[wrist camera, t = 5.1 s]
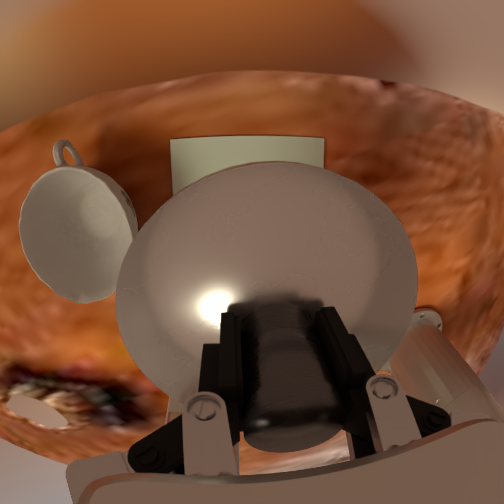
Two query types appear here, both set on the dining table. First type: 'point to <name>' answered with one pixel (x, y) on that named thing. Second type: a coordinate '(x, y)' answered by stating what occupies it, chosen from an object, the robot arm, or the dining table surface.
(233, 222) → the lid
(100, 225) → the teacup
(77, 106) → the dining table surface
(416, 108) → the dining table surface
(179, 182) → the mat
